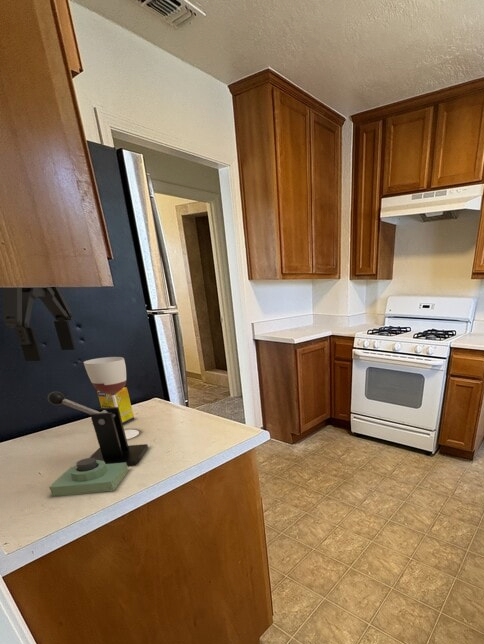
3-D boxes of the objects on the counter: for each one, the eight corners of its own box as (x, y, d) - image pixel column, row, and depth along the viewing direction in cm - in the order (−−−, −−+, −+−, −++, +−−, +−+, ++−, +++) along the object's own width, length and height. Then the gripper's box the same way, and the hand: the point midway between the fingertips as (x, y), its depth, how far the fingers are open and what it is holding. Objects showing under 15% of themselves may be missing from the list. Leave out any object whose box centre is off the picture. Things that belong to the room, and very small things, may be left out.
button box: (52, 496, 74) (46, 479, 72) (73, 475, 82) (68, 459, 80) (113, 490, 75) (109, 474, 74) (128, 470, 83) (124, 455, 82)
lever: (43, 403, 80) (46, 391, 79) (50, 399, 83) (54, 387, 82) (108, 428, 85) (112, 416, 84) (113, 423, 88) (117, 412, 87)
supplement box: (105, 424, 112) (96, 391, 107) (119, 418, 117) (111, 386, 113) (121, 425, 110) (112, 392, 106) (134, 419, 116) (127, 386, 112)
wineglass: (146, 433, 104) (129, 359, 96) (112, 444, 98) (90, 365, 89) (133, 426, 110) (116, 355, 101) (100, 436, 103) (78, 361, 94)
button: (75, 473, 75) (73, 465, 75) (83, 465, 79) (80, 458, 78) (93, 471, 76) (91, 464, 75) (100, 463, 79) (98, 456, 78)
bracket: (83, 469, 84) (67, 419, 79) (100, 451, 93) (87, 405, 88) (136, 465, 86) (123, 416, 81) (148, 448, 95) (137, 402, 90)
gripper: (-2, 238, 59) (38, 365, 67) (73, 252, 81) (96, 345, 89) (-53, 237, 57) (-7, 367, 66) (37, 251, 80) (63, 346, 88)
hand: (53, 354), depth 78 cm, fingers open, 13 cm apart
